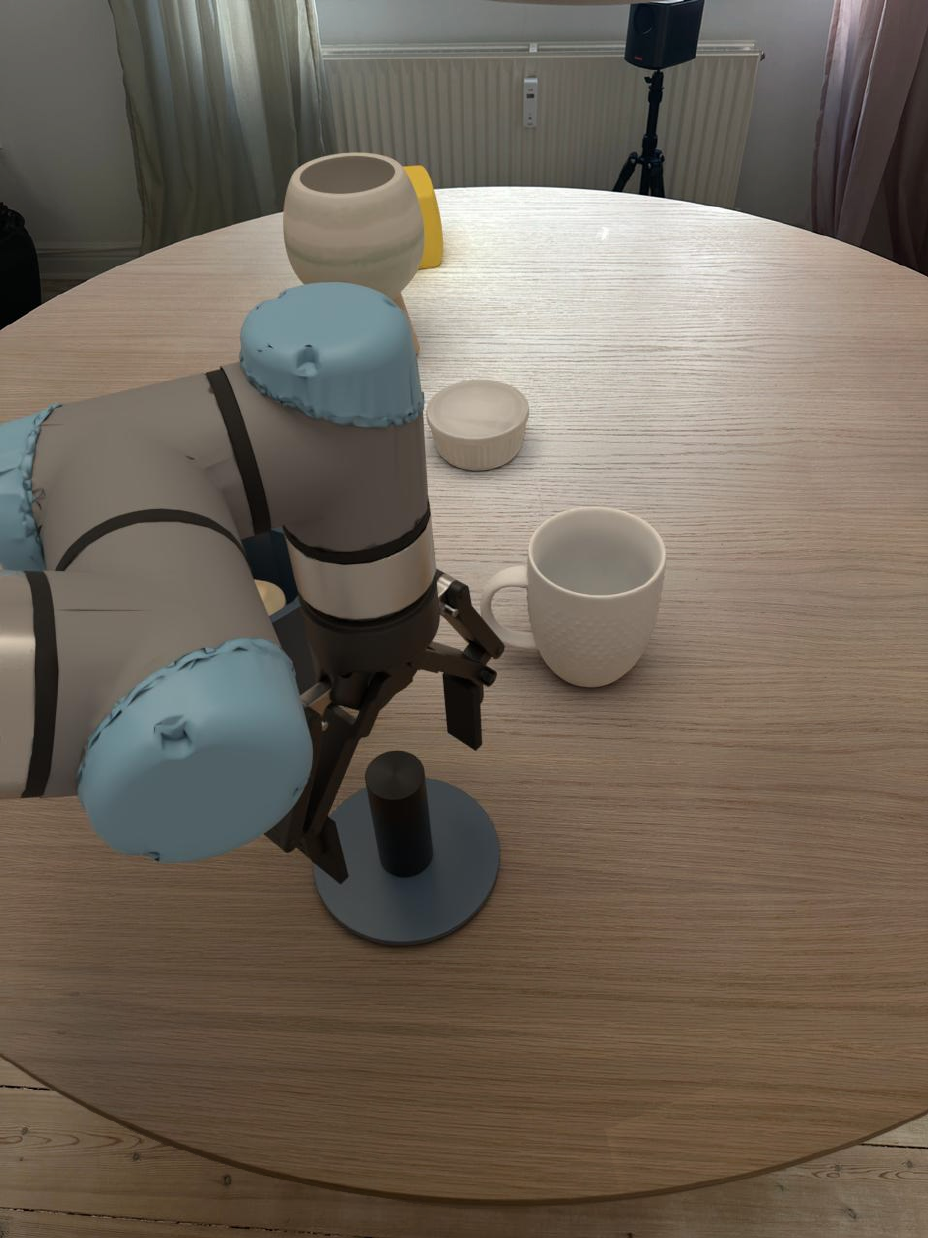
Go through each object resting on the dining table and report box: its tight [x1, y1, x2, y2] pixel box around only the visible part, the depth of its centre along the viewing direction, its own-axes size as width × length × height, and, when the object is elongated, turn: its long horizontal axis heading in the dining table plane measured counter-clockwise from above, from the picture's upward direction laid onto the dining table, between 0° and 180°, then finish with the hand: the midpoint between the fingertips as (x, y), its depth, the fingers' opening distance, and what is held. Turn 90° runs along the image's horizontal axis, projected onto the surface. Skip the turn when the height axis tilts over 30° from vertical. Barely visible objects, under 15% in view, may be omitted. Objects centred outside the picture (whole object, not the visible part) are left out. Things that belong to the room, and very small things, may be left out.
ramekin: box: [425, 379, 530, 472], centre depth 108 cm, size 11×11×5 cm
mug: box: [479, 506, 667, 688], centre depth 82 cm, size 15×11×13 cm
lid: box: [312, 749, 501, 946], centre depth 69 cm, size 14×14×11 cm
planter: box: [282, 152, 425, 355], centre depth 116 cm, size 16×16×22 cm
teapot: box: [402, 164, 444, 270], centre depth 139 cm, size 20×12×12 cm, turn 9°
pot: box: [241, 526, 318, 695], centre depth 82 cm, size 13×18×12 cm
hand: (401, 800), depth 68 cm, fingers open, 13 cm apart
